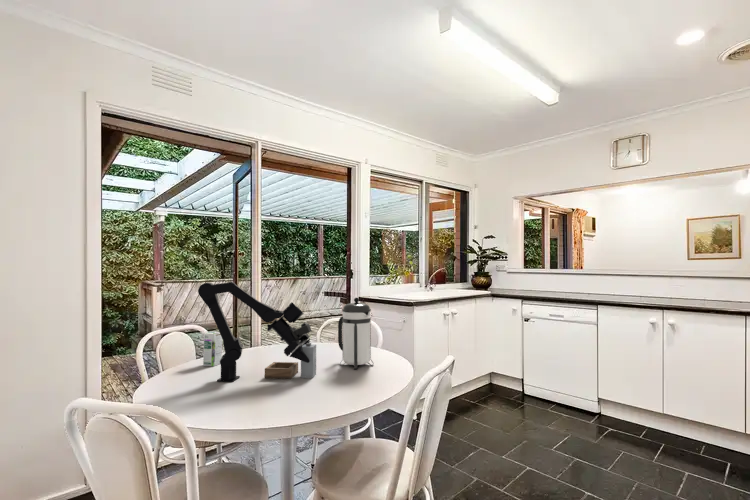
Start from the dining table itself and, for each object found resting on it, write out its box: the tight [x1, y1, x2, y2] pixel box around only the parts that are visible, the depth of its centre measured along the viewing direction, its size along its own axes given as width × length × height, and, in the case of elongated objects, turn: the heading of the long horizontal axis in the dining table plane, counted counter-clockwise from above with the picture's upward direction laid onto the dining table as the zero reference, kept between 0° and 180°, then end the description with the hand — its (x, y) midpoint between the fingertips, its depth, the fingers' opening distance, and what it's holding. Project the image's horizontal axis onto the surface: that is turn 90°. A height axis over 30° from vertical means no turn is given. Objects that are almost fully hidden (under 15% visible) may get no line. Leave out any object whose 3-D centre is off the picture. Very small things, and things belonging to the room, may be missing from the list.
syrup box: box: [202, 331, 223, 367], centre depth 174 cm, size 6×6×14 cm
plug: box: [300, 342, 317, 379], centre depth 155 cm, size 5×5×13 cm
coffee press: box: [337, 297, 375, 371], centre depth 172 cm, size 17×16×30 cm
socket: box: [264, 361, 299, 380], centre depth 156 cm, size 10×10×4 cm
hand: (312, 359), depth 155 cm, fingers open, 9 cm apart
